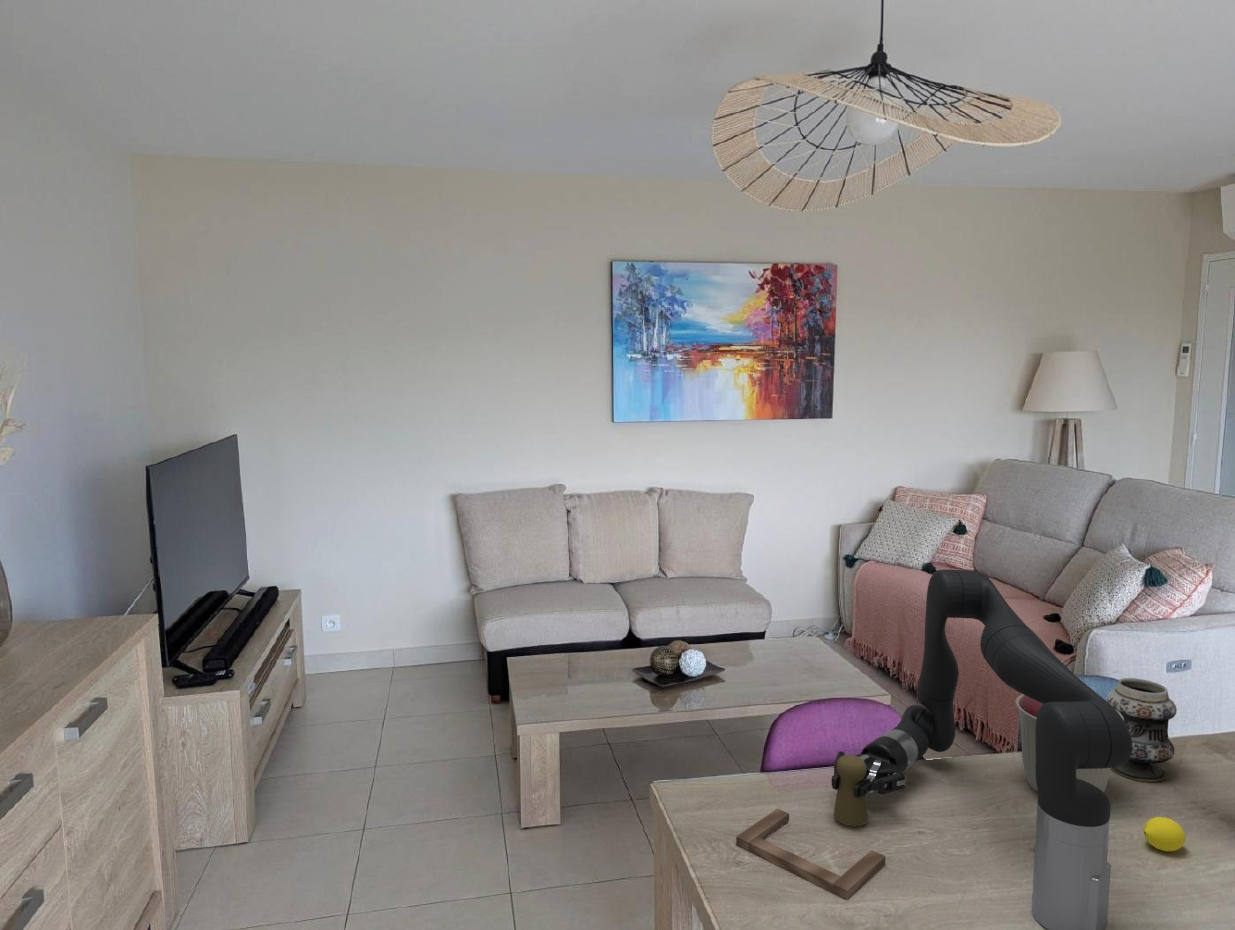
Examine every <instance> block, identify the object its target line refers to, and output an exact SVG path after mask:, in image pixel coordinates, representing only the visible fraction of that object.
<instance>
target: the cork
mask: <svg viewBox="0 0 1235 930" xmlns="http://www.w3.org/2000/svg"><path fill="white" fill-rule="evenodd" d="M854 755H855V754H847V755H846V754H845V756H842V757H840V758H839V760H838V762H837V772H838V774H839V775H840V782H839V789H838V790H836V798H835V803H834V809H833V817H834V819H836V821H838V822H840V823H841V824H844V825H846V826H847V825H848V826H862V825H865V824H866V823H867V822H868V821H869V813H868V806H867V805H868V804H867V797H866V795H865V796H863V797H859V798H855V797H854V796H853V794H854V786H855V785H856V784H857V783H859V782H860V781H862V780H863V778H864V777H865V775H866V771H867V767H866V764H865V762H864V760H863V759H861V758H860V757H857V756H854Z"/></svg>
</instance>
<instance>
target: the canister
mask: <svg viewBox="0 0 1235 930" xmlns="http://www.w3.org/2000/svg"><path fill="white" fill-rule="evenodd" d="M1042 705H1043V704H1042V703H1040V702H1038V701H1036V700H1034V699H1032V698H1030V697H1028V696H1026V695H1024V694H1022V693H1021V694H1020V695H1018V697H1016V699H1015V706H1016V707H1017V708H1016V709H1018V711H1019V713H1018V714H1019V725H1020V726H1019V727H1020V740H1021V741H1020V742H1021V752H1022V753H1021V755H1022V765H1023V772H1024V775H1025V779H1026V780H1027V782H1028V784H1029V785H1030V787H1031V788H1032V789H1033V790H1034V791H1035V792H1037V793H1038V790H1037V783H1036V770H1035V767H1036V744H1035V726H1036V718H1037V714H1038V711H1039V709H1040V708H1041V706H1042ZM1115 710H1116V709H1115ZM1116 711H1117V710H1116ZM1117 712H1118V711H1117ZM1118 713H1119V715H1120V716H1121V717H1122V719H1123V720H1124V718H1123V716H1122V715H1121V713H1120V712H1118ZM1110 773H1111V768H1103V769H1076V778H1077V779H1080V780H1083V781H1086V782H1088V783H1090V784H1092V785H1094V786H1096V787H1097V788H1099V789H1100V790H1102V791H1103V792H1104V793H1105V792H1106V788H1107V785H1108V782H1109V781H1108V780H1109V777H1110V775H1111V774H1110Z"/></svg>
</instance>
